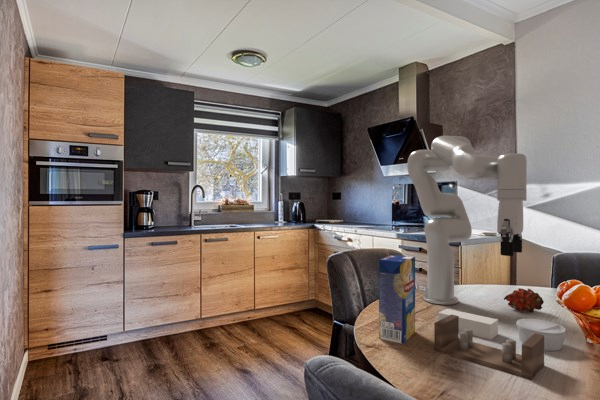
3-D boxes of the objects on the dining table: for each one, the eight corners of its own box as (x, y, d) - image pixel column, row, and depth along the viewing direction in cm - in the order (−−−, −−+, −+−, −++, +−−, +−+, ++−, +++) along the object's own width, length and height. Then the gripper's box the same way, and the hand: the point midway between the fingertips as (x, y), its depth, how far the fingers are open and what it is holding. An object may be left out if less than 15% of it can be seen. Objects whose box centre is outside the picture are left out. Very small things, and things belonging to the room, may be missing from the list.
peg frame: (434, 350, 96) (434, 322, 96) (451, 339, 103) (451, 314, 103) (532, 379, 80) (532, 347, 80) (544, 365, 87) (544, 335, 87)
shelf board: (438, 327, 114) (438, 312, 114) (446, 322, 118) (446, 308, 118) (490, 340, 103) (490, 324, 103) (498, 335, 108) (498, 319, 107)
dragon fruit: (547, 319, 125) (506, 318, 132) (545, 300, 131) (507, 299, 138) (542, 302, 121) (501, 301, 128) (541, 283, 127) (502, 283, 134)
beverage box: (415, 331, 109) (415, 256, 109) (403, 344, 100) (403, 262, 100) (392, 327, 113) (392, 254, 113) (378, 338, 104) (378, 259, 104)
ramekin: (567, 357, 92) (567, 335, 92) (515, 347, 98) (515, 327, 98) (564, 342, 102) (564, 322, 102) (517, 334, 108) (517, 316, 108)
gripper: (505, 196, 119) (505, 249, 119) (488, 195, 106) (488, 255, 107) (533, 196, 114) (532, 252, 114) (518, 195, 101) (518, 258, 101)
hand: (511, 253), depth 110 cm, fingers open, 9 cm apart
